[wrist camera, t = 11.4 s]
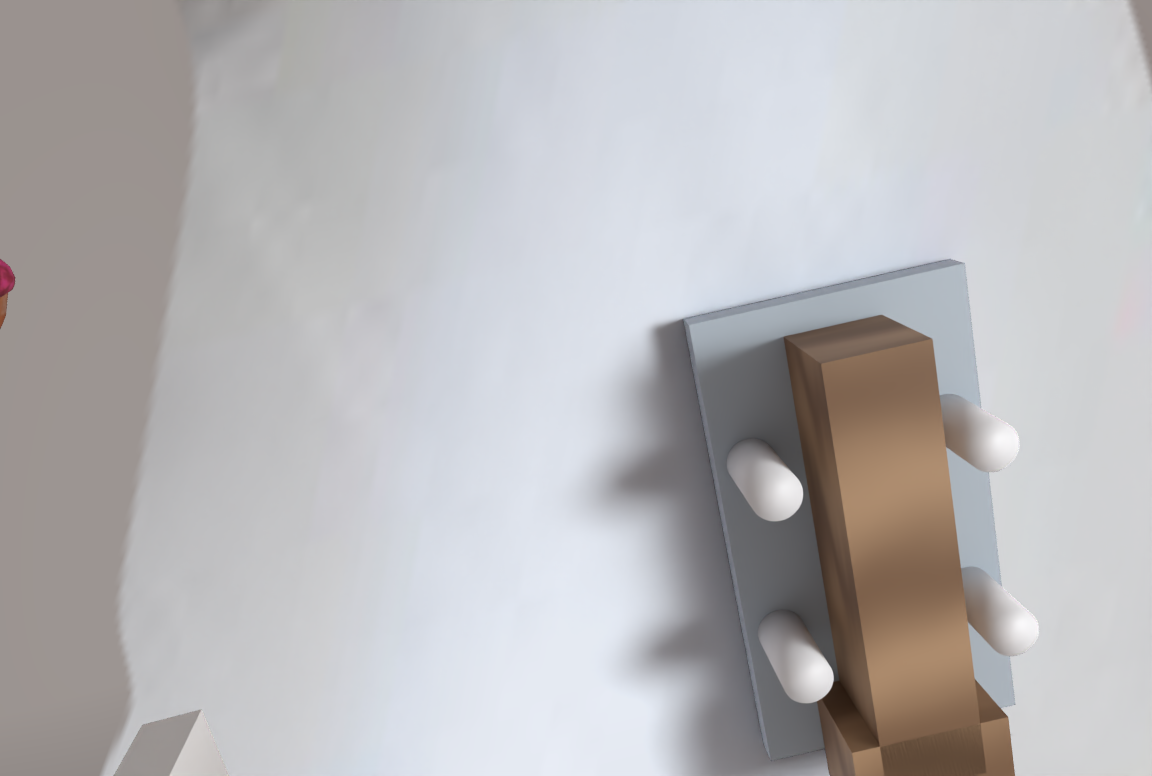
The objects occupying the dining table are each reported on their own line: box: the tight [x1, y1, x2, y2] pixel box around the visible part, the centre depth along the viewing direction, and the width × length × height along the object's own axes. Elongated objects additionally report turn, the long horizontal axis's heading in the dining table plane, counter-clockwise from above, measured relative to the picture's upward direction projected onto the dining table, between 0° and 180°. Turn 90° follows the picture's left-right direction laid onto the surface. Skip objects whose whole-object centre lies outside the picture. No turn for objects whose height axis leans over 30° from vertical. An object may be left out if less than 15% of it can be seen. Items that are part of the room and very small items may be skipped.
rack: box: [683, 259, 1039, 761], centre depth 37 cm, size 18×10×5 cm, turn 12°
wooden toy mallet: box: [784, 315, 1015, 776], centre depth 36 cm, size 18×6×4 cm, turn 12°
